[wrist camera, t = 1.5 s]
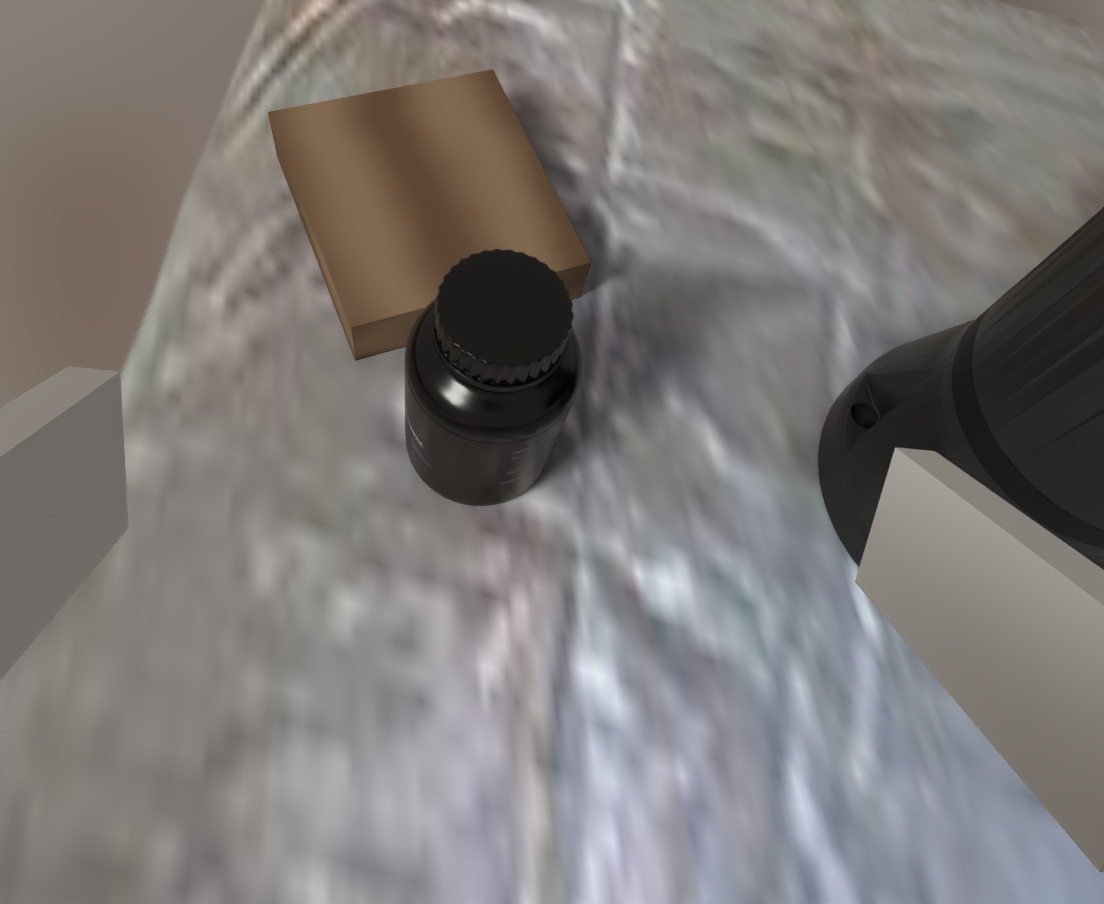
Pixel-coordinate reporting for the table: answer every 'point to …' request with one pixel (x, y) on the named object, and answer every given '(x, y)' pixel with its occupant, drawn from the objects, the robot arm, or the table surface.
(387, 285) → the brown flat block
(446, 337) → the supplement bottle
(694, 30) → the table surface
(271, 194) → the table surface
